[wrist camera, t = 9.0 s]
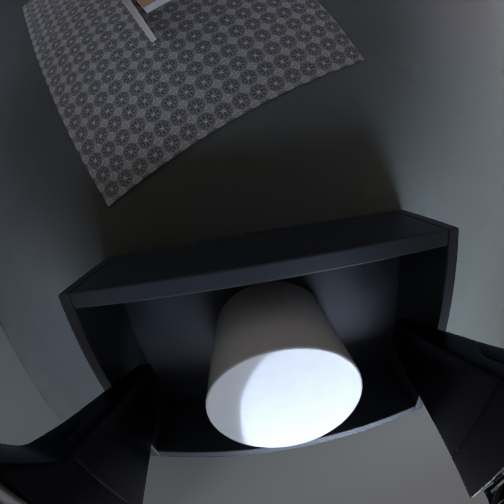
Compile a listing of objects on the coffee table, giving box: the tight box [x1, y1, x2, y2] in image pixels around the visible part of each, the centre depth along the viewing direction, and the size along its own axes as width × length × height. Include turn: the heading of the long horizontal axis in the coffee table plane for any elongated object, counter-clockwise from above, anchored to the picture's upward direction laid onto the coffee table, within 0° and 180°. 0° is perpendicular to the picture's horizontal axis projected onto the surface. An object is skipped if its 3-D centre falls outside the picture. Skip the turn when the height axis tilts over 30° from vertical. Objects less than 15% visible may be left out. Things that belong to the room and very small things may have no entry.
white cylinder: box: [205, 281, 363, 448], centre depth 8 cm, size 4×4×4 cm
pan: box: [59, 210, 459, 457], centre depth 9 cm, size 12×8×3 cm, turn 99°
